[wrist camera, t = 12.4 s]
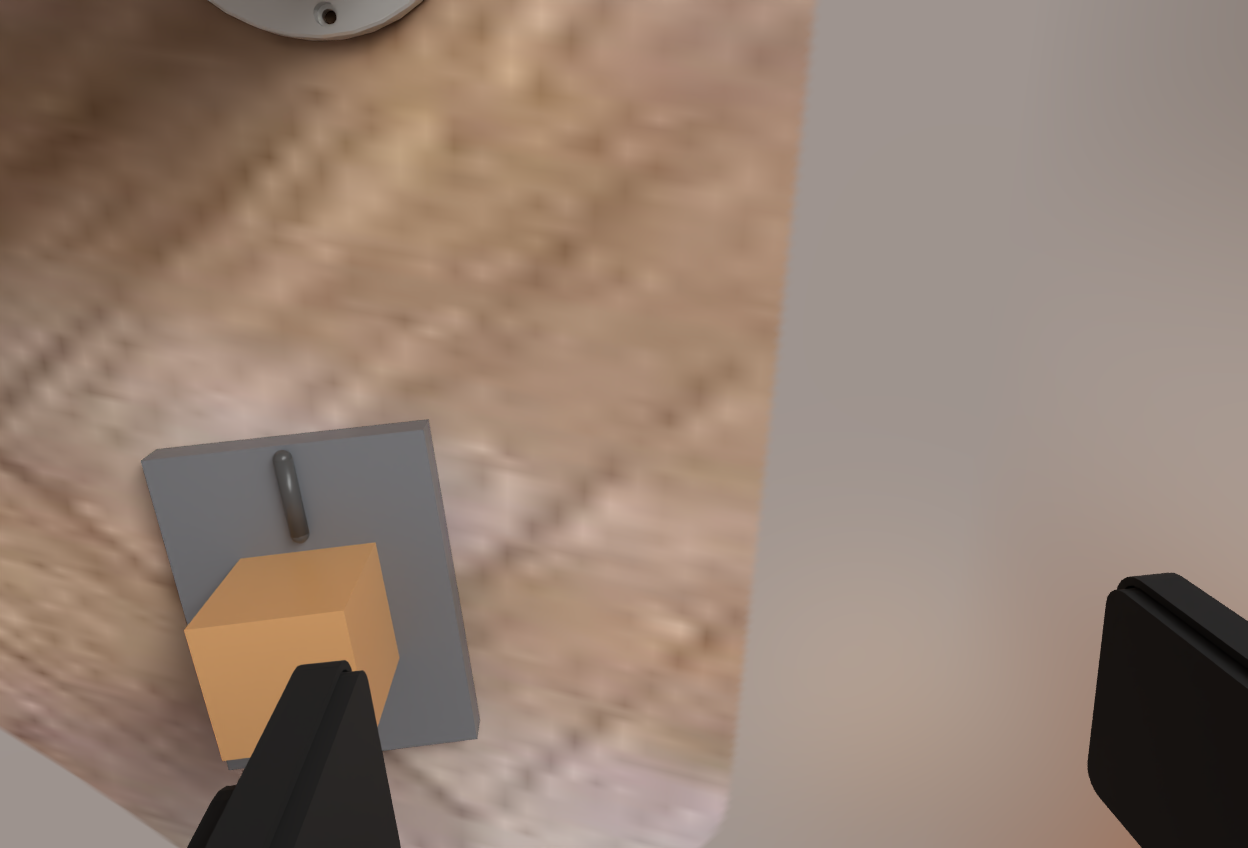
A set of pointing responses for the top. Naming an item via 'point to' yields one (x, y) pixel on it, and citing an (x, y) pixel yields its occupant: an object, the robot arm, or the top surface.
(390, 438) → the plate
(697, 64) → the top surface
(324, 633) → the tan wooden cube
